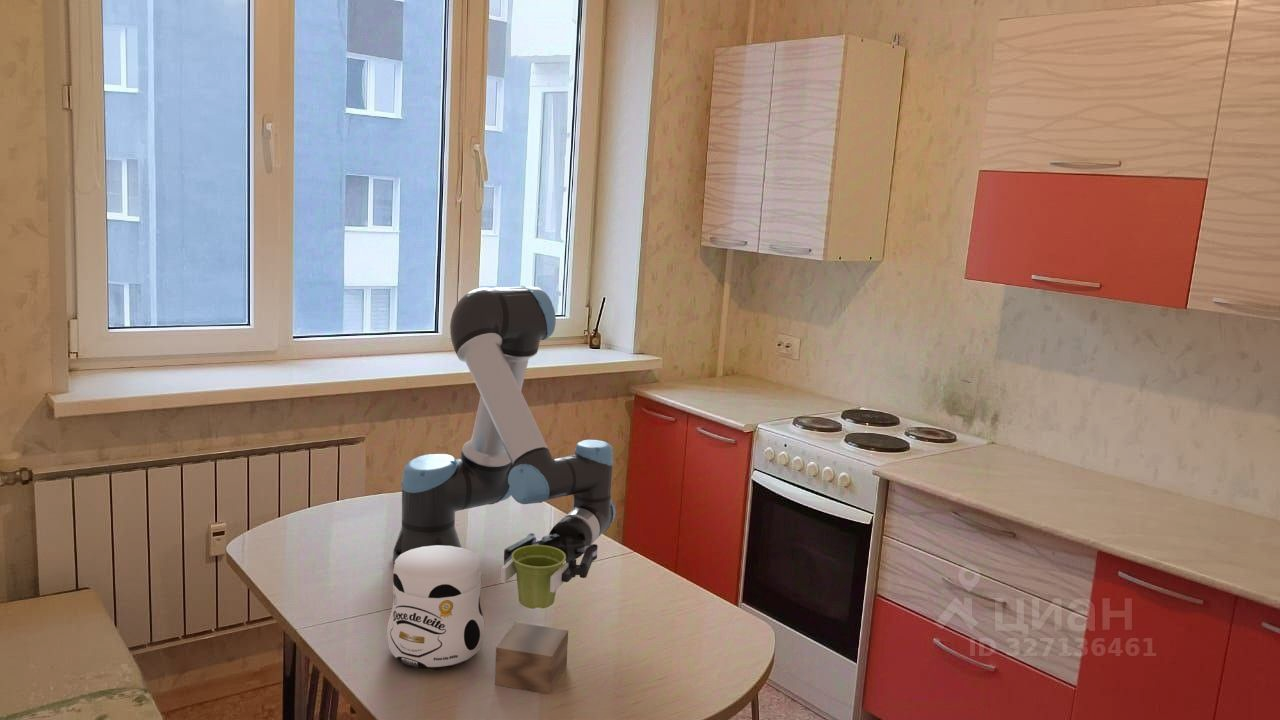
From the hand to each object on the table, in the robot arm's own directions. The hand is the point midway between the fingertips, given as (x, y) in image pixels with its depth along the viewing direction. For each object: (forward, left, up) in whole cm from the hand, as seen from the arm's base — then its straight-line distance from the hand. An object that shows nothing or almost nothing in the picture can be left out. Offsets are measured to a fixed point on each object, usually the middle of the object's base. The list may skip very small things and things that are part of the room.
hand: (527, 579), depth 164 cm
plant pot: (0, +5, -6) cm, 8 cm away
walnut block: (0, +4, -20) cm, 20 cm away
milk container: (-19, +6, -20) cm, 28 cm away
